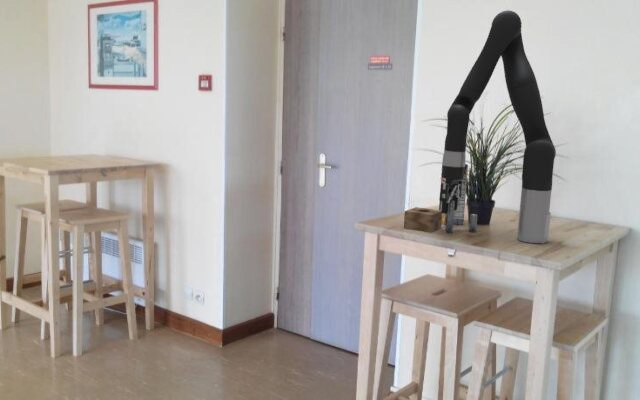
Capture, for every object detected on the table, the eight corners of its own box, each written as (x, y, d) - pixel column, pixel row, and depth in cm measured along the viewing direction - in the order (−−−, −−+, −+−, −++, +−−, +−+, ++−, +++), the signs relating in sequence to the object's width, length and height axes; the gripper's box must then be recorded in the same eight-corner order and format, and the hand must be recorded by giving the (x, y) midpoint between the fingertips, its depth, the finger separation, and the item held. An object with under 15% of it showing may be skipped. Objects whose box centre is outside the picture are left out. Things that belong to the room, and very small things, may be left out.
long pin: (453, 232, 212) (455, 200, 210) (450, 233, 210) (453, 201, 208) (446, 231, 213) (448, 199, 212) (444, 232, 211) (446, 200, 210)
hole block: (441, 227, 219) (442, 210, 218) (430, 232, 211) (431, 214, 210) (415, 223, 225) (416, 207, 224) (403, 227, 216) (404, 211, 215)
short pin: (476, 231, 215) (478, 214, 214) (474, 232, 213) (476, 215, 212) (470, 230, 216) (471, 213, 215) (467, 231, 214) (469, 214, 213)
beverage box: (444, 224, 225) (448, 164, 221) (438, 218, 235) (442, 160, 232) (463, 225, 225) (468, 164, 221) (456, 219, 236) (460, 161, 232)
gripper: (456, 167, 200) (452, 216, 203) (471, 164, 212) (466, 210, 215) (435, 164, 204) (430, 212, 207) (450, 161, 216) (446, 207, 219)
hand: (449, 211), depth 211 cm, fingers open, 8 cm apart
